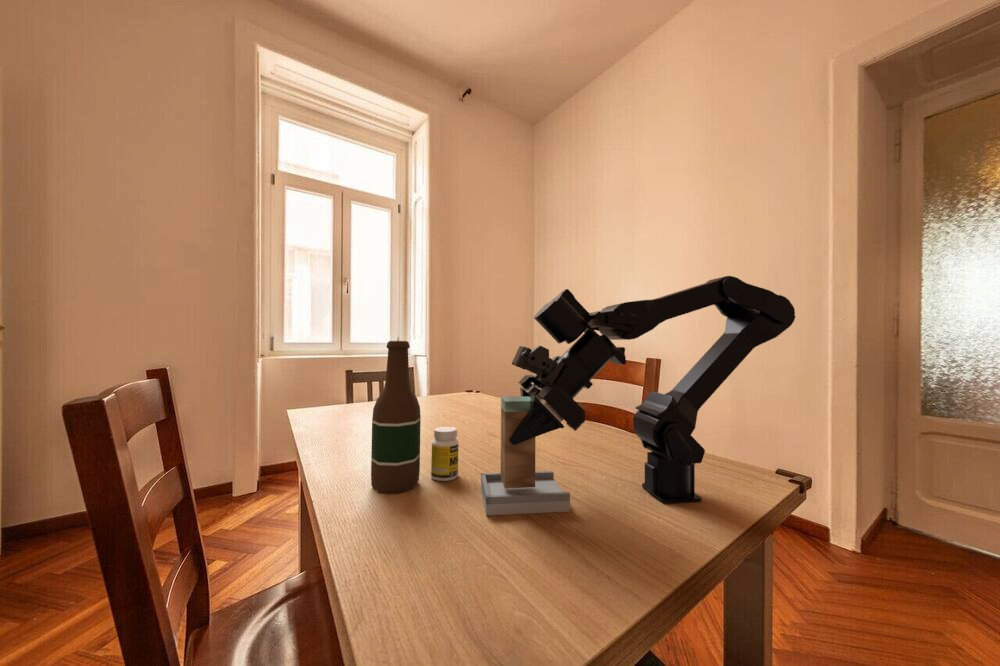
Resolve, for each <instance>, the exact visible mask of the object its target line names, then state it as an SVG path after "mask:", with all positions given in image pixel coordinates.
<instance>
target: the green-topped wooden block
mask: <svg viewBox="0 0 1000 666" xmlns="http://www.w3.org/2000/svg"><path fill="white" fill-rule="evenodd" d="M530 402H531V397H529V396H521V395H520V396H501V397H500V473H501V479H502V482H503V485H504V488H505V489H506V488H527V487H535V472H536V437H534V438H531V439H529V440H526V441H524V442H521V443H519V444H516V445H513V444H512V443H511V442H510V441H509V439H510V437H511V436H512V434H513V433H514V431H515V430H516V428H517V427H518V426H519V424H520V423H521V421H522V420H523V419H524V417H525V416H526V414H527V413H528V412H529V410H530Z"/></svg>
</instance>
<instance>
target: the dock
mask: <svg viewBox="0 0 1000 666" xmlns="http://www.w3.org/2000/svg"><path fill="white" fill-rule="evenodd" d="M554 473H555V472H554V470H547V471H546V470H544V471H543V470H542V471H535V487H527V488H506V489H505V488H504V485H503V482H502V479H501V472H490V473H489V472H485V473H483V472H482V473H481V474H480V489H481V490H480V492H481V495H482V497H481V498H482V501H483V506H484V513H485V516H504V515H507V516H508V515H524V514H525V515H526V514H543V513H546V514H547V513H563V512H564V513H565V512H570V511H571V493H570V491H564V490H563V489H562V488H561V486H560V485H559V483H558V482H557V481H556V480H555V477H554V476H555V475H554Z"/></svg>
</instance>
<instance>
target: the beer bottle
mask: <svg viewBox="0 0 1000 666" xmlns="http://www.w3.org/2000/svg"><path fill="white" fill-rule="evenodd" d="M386 348H387V349H388V350H387V361H386V362H387V363H386V372H385V373H386V374H385V382H384V386H383V387H384V388H383V390H382V391H381V392H380V394H379V396H378V397H377V398H376V401H375V404H374V406H373V410H372V418H371V419H372V420H371V455H370V457H371V460H370V464H371V465H370V466H371V467H370V477H371V478H370V482H371V484H370V485H371V487H372V489H374V490H375V491H376V492H377V493H378V494H386V495H387V494H388V495H393V494H394V495H398V494H401V493H405V492H408V491H411V490H412V491H413V490H414V488H415V487H416V485H417V484H418V482H419V480H420V471H421V467H420V466H421V420H422V419H421V406H420V402H419V400H418V397H417V396H416V395H415V393H414V391H413V390H412V388H411V382H410V373H409V372H410V368H409V367H410V365H409V363H410V362H409V348H411V346H410V343H409V341H407V340H389V341H387V345H386Z"/></svg>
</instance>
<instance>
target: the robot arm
mask: <svg viewBox="0 0 1000 666" xmlns="http://www.w3.org/2000/svg"><path fill="white" fill-rule="evenodd" d="M711 306H715V307H716V309H717V310H718V311H719V313H720V314H721V315H722V316H724V317H726V320H725V329H724V332H723V334H722V335H720V337H718V339H717V340H716V341H715V342H714V343H713V344H712V345H711V347H710V348H709V349H708V350H707V351H706V352H705V353H704V354H703V355H702V356H701V357H700V359H699V360H698V361H697V362H696V363H695V364H694V365H693V366H692V367H691V368H690V370H688V371H687V373H686V374H685V375H684V376H683V377H682V378H681V379H680V381H678V382H677V383H676V385H675V386H674V387H673V388H672V389H671V390H670V391H668V392H666V393H660V392H656V391H651V392H650V393H649V394H648V395H647V397H646V398H645V400H644V401H642V403H641V404H639V405H637V406H635V409H636V410H637V411H636V412H635V414H634V415H633V418H632V428H633V430H634V433H635V435H636V436H637V437H638V438H639V439H640V442H641V444H642V446H643V448H644V449H647V450H648V451H647V453H646V455H647V457H646V459H647V460H646V462H644V482H643V483H642V484H641V487H642V488H644V490H646V491H647V492H648V493H649V494H651V495H652V496H654V497H655V498H656V499H657V500H659V501H660V502H662V503H663V504H664V503H665V504H667V503H688V502H702V501H703V500H702V498H703V497H701V496H700V495H698V494H697V493H695V487H696V486H695V485H696V483H695V479H696V478H695V477H696V475H695V472H696V471H695V464H701V463H702V461H703V458H704V456H705V453H706V450H705V448H704V447H703V446H702V445H701V443H699V441H697V440H696V439H695V438H694V437H693V436H692V434H693V432H694V431H695V430H696V425H697V418H698V413H699V410H700V409H701V408H702V407H703V405H705V403H706V402H707V401H708V400H709V399H710V398H711V397H712V395H713V394H714V393H715V392H716V391H717V390H718V389H719V388H720V387H721V386H722V384H723V383H724V382H725V381H726V380H727V379H728V378H729V377H730V376H731V374H732V373H733V372H735V370H736V369H737V368H738V367H739V366H740V364H742V362H743V361H744V360H745V359H746V357H747V356H749V354H751V352H752V351H753V350H754V349H755V348H756V347H758V346H760V345H762V344H765V343H767V342H769V341H771V340H773V339H776V338H777V337H779V336H780V335H781V334H783V333H784V332H785V331H786V330H787V329H789V328H790V327H791V326H792V325H793V323H794V322H795V319H796V315H795V314H796V310H795V307H794V304H792V302H791V301H790V299H789V298H787V297H786V296H784V295H781V294H777V293H775V292H774V291H772V290H769V289H766V288H763V287H759V286H757V285H754V284H750V283H747V282H745V281H743V280H742V279H740V278H738V277H736V276H732V275H725V276H721V277H717V278H713V279H710V280H707V281H706V282H704V283H701V284H698V285H695V286H692V287H689V288H688V287H687V288H685V289H682V290H679V291H676V292H673V293H670V294H666V295H663V296H660V297H657V298H653V299H652V298H651V299H641V300H634V301H633V300H632V301H625V302H621V303H618V304H617V303H616V304H612V305H608V306H606V307H604V308H602V309H600V310H596V311H593V312H588V310H587V309H586V308H585V307H584V305H582V304H581V303H580V302H579V301H578V300H577V298H576V297H575V295H574V294H573V292H572V291H571V290H569V289H568V288H565V289H563V290H562V291H561V292H560V293H558V294H557V295H556V296H555V297H554V298H552V299H551V301H549V302H547V303H546V304H544V305H543V306H542V307H541V308H540V309H539V310H538V311H537V312H536V314H535V315H534V316H533V319H534V320H535V321H537V323H538V324H539V325H540V326H541V327H542V328H543V329H544V330H545V331H546V332H547V333H548V335H549V336H550V337H552V339H554V341H555V342H556V343H557V344H562V343H564V342H565V343H566V344H567V345H570V344H571V346H570V347H568V349H567V350H566V351H565V352H564V353H563V354H562V355H555V356H553V358H551V357H550V349H549V348H546V347H544V346H543V345H537V346H535V347H534V348H533V349H532V348H530V347H526V346H525V345H524V346H523V345H519V347H518V348H517V350H516V353H515V355H514V357H513V359H512V360H511V365H513V366H515V367H517V368H521V369H522V370H526V371H528V372H530V373H533V374H535V375H533V374H529V375H528V374H525V375H524V376H523V377H522V378H521V379H520V380H519V381H518V384H519V385H520V388H519V390H520V397H521V396H529V397H531V402H530V410H529V412H528V413H527V414H526V416H525V417H524V419H523V420H522V421H521V423H520V424H519V426H518V427H517V428H516V430H515V431H514V433H513V434H512V436H511V437H510V439H509V441H510V442H511V443H512V444H513V445H516V444H519V443H521V442H524V441H526V440H529V439H531V438H534V437H535V438H536V437H539V436H542V435H543V434H547V433H549V432H553V431H556V430H558V429H564V428H565V425H564V424H563V423H562V422H564V421H565V422H566V425H567V426H568V427H569V428H570V429H572V430H573V431H574V432H576V431H577V430H578V429H579V428H580V427H581V426H582V425H583V424H584V423H585V422H586V411H585V410H584V408H583V407H582V406H581V405H580V404H579V403H577V401H576V400H575V399H574V398H576V397H577V395H578V394H579V393H580V392H581V391H582V390H583V389H587V390H589V389H590V388H591V387H592V386H593V385H594V383H592V382H591V381H592V380H593V378H594V377H595V376H596V375H597V374H598V373H599V372H601V370H602V369H603V368H604V367H605V366H606V365H607V364H608V363H609V362H610V361H611V363H612V364H615V365H621V366H624V365H626V364H627V360H626V359H627V358H626V354H625V353H626V348H625V347H624V346H616V344H615V343H614V342H613V341H619V340H620V341H622V340H623V341H625V340H626V341H627V340H628V341H629V340H635V339H637V338H640V337H641V336H643V335H645V334H647V333H649V332H651V331H653V330H654V329H655V328H656V327H658V326H659V325H660V324H662V323H664V322H665V321H667V320H672V319H674V318H676V317H680V316H683V315H687V314H689V313H692V312H695V311H698V310H702V309H705V308H707V307H711ZM598 332H599V333H600V334H601V335H600V334H599V333H598ZM573 342H574V343H573ZM572 343H573V344H572Z"/></svg>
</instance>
